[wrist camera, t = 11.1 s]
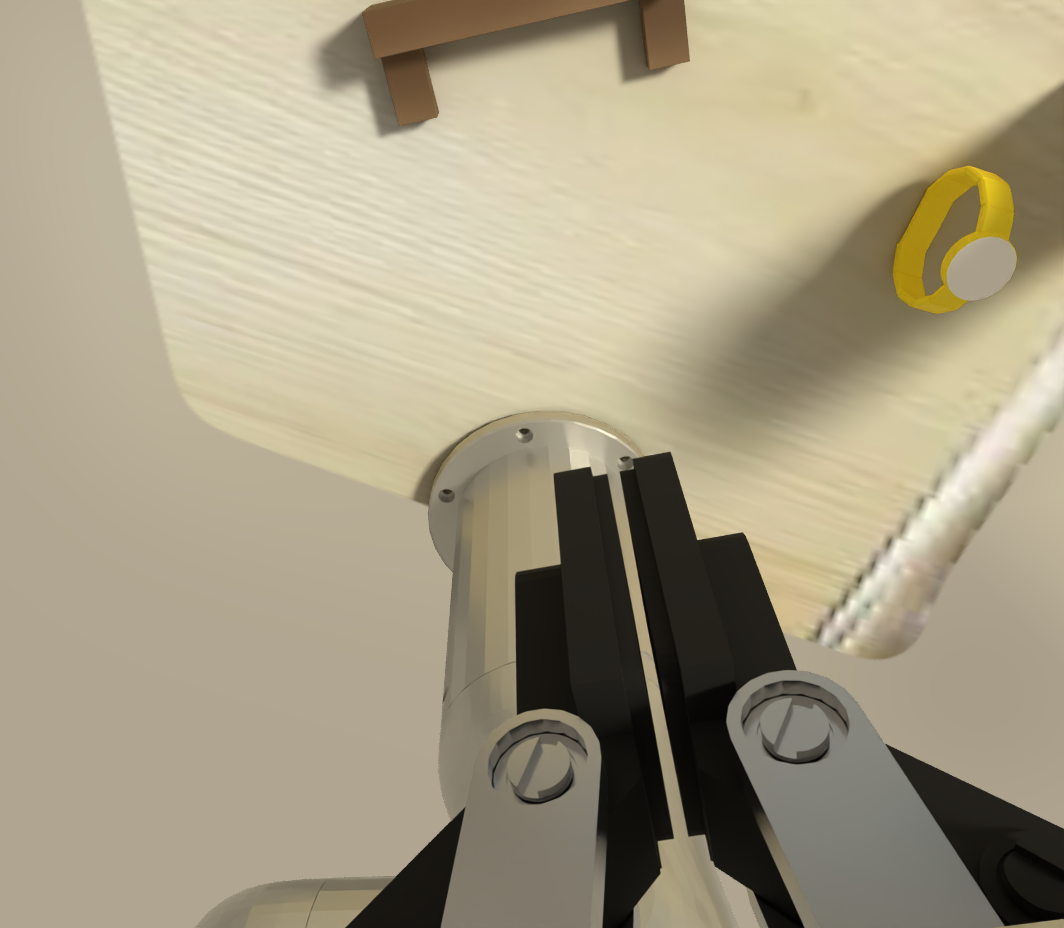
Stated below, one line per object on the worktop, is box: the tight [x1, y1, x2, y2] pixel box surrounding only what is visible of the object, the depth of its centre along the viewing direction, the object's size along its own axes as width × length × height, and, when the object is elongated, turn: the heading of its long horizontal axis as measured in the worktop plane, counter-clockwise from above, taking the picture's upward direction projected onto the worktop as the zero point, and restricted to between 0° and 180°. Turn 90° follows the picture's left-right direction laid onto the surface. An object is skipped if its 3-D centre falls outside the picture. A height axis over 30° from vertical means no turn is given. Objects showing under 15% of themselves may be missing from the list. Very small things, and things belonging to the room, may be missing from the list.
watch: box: [893, 166, 1017, 314], centre depth 37 cm, size 6×3×6 cm, turn 164°
